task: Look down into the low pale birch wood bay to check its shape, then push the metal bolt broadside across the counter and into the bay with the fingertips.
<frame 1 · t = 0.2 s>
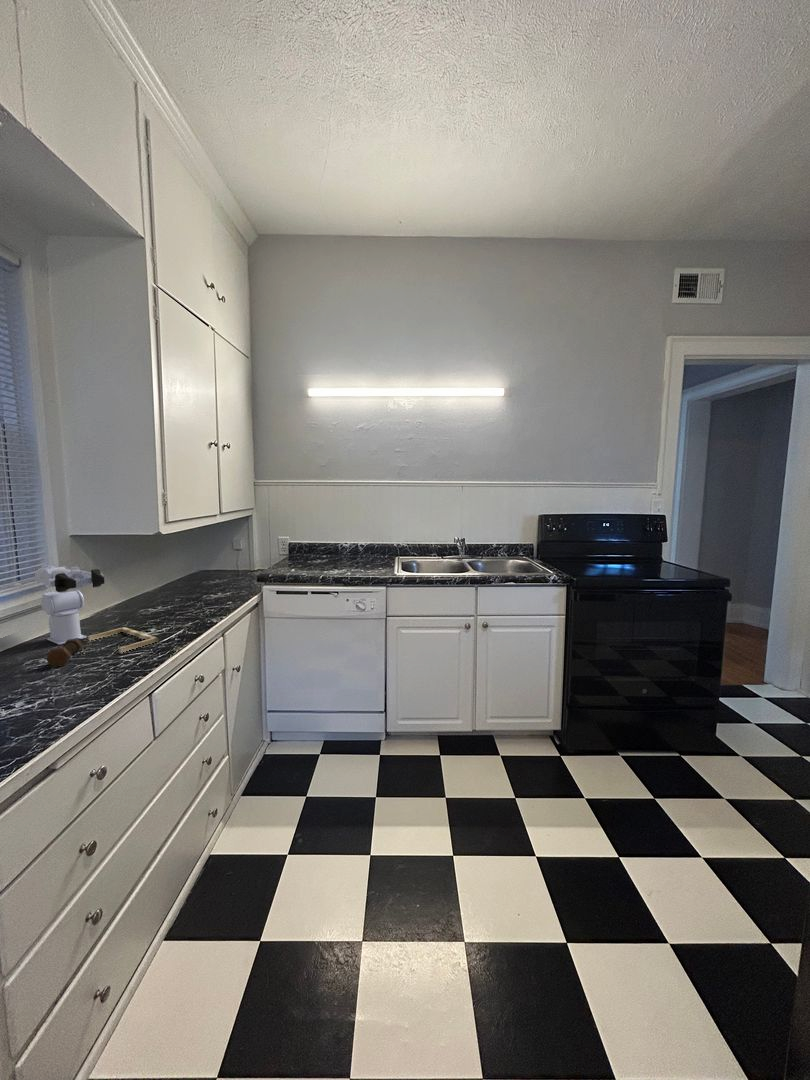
hand: (89, 582, 141), 21 cm above the counter, tool horizontal, fingers open, 7 cm apart
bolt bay: (121, 642, 151), on the counter
bolt: (70, 657, 140), on the counter
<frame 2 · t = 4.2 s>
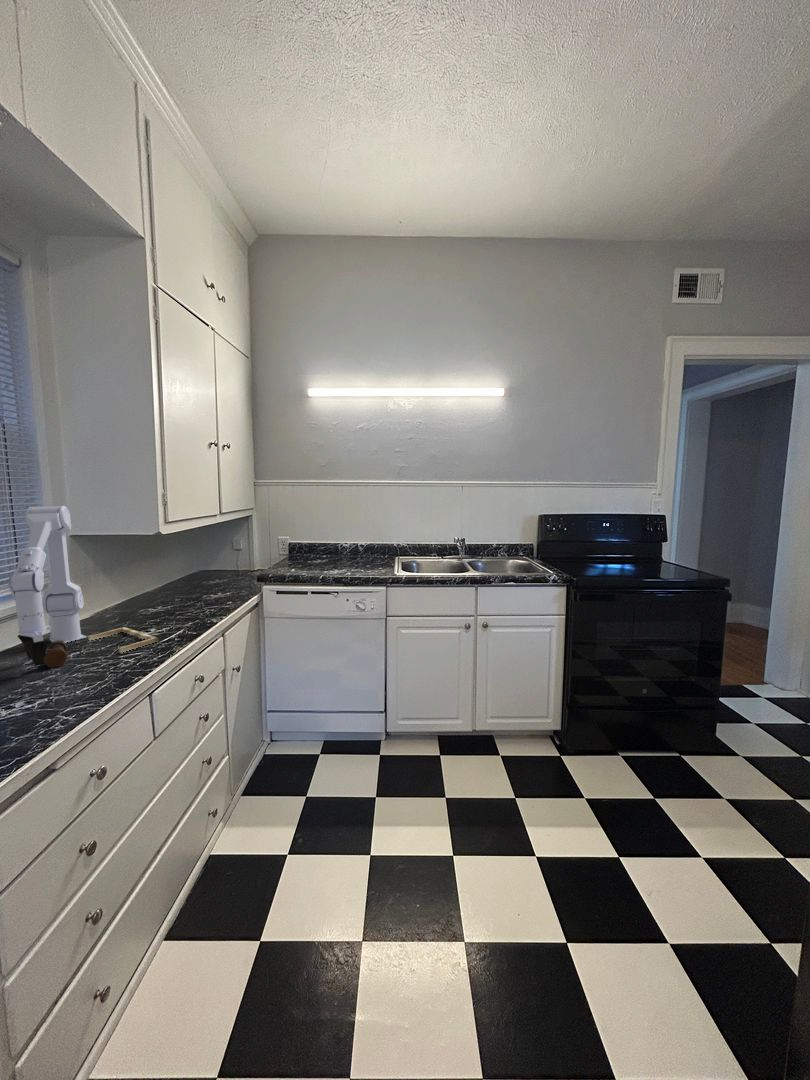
hand: (36, 660, 132), 1 cm above the counter, tool pointing down, fingers open, 7 cm apart
bolt: (58, 659, 138), on the counter, touching gripper
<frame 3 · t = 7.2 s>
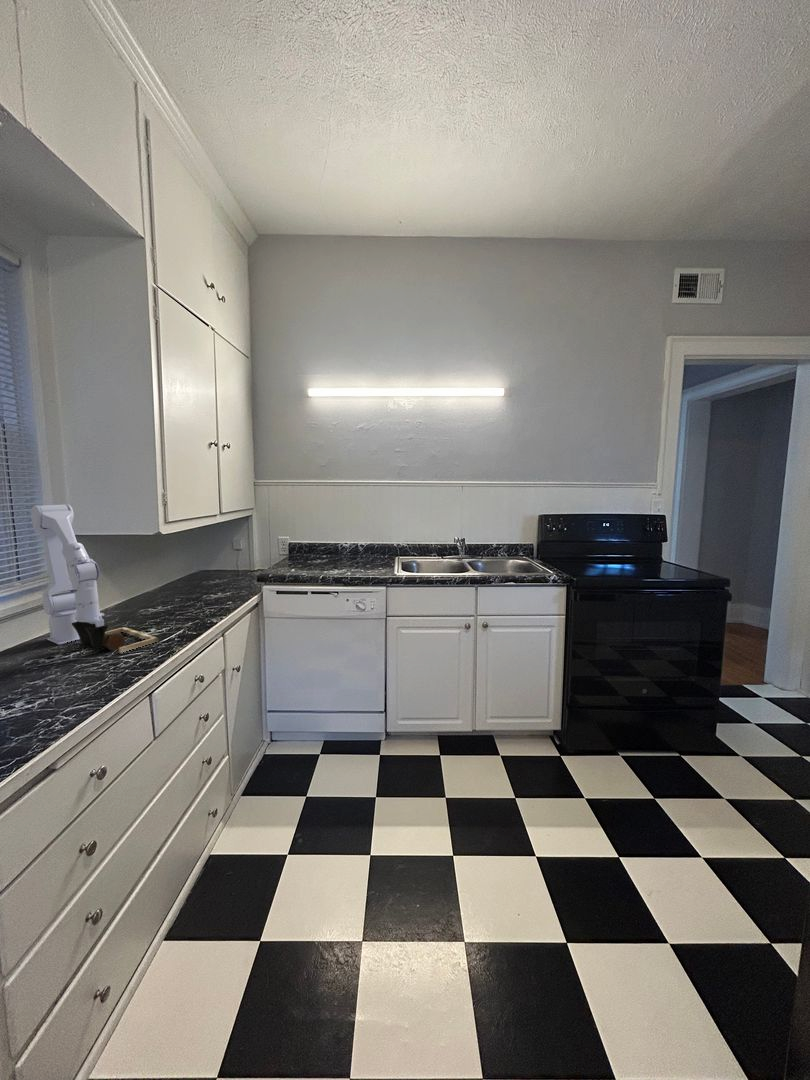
hand: (92, 645, 144), 1 cm above the counter, tool pointing down, fingers open, 7 cm apart
bolt: (104, 646, 148), on the counter, touching gripper
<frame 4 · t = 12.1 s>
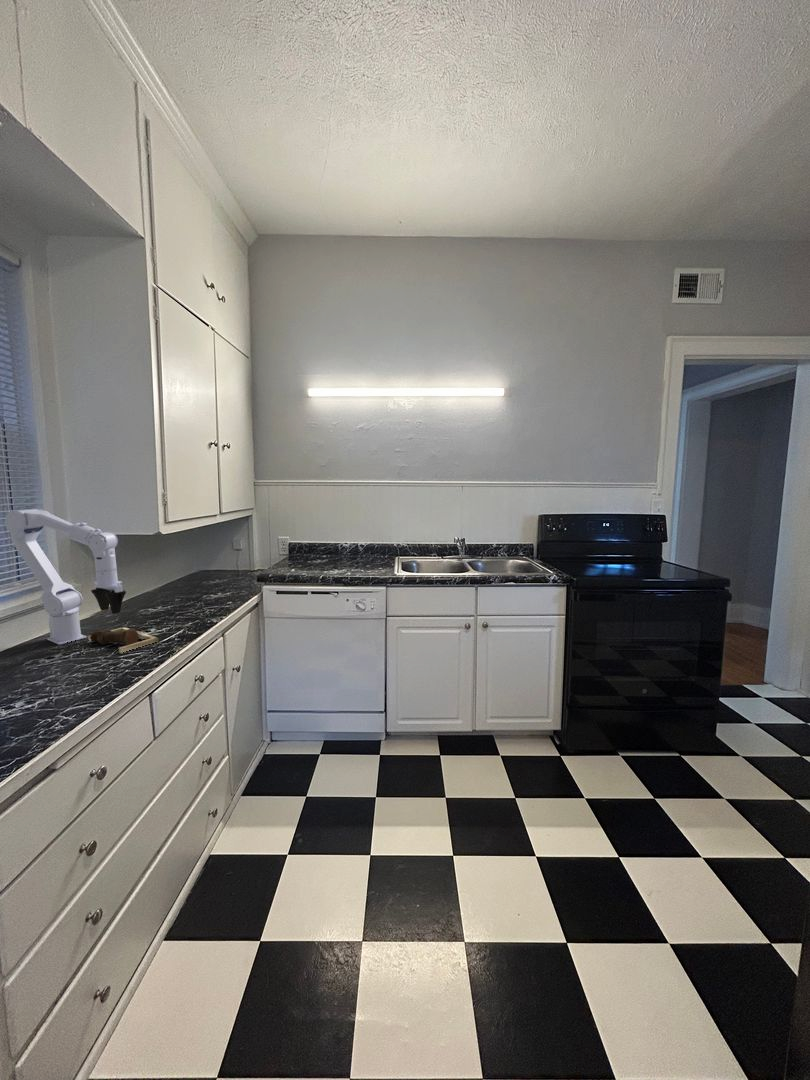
hand: (110, 611, 153), 9 cm above the counter, tool pointing down, fingers open, 7 cm apart
bolt: (113, 644, 150), on the counter
at the end: bolt inside the target area on the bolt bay (2.4 cm from its centre), point 0.0 cm above the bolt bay's base; bolt moved 12.2 cm from its start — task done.
